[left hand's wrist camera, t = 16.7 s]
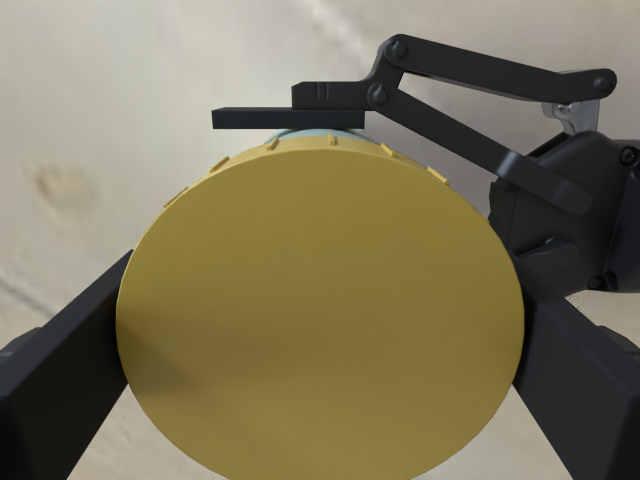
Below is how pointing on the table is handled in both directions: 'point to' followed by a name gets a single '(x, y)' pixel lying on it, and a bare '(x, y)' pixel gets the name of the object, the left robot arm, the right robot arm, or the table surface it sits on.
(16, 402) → the left robot arm
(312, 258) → the lid
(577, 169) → the right robot arm
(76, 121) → the table surface
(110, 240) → the table surface
